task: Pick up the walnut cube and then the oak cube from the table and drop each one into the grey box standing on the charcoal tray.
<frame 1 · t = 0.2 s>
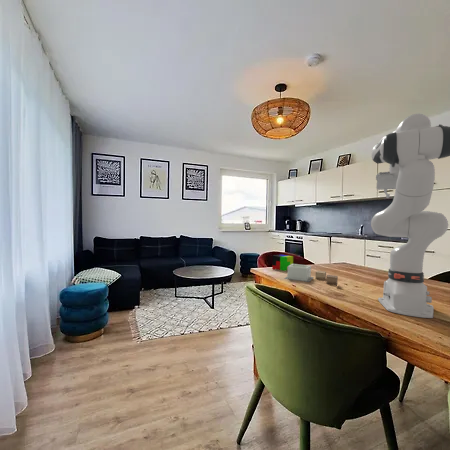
hand: (398, 197, 131), 48 cm above the table, tool pointing down, fingers open, 8 cm apart
tray: (299, 279, 146), on the table
grey box: (299, 277, 146), resting on tray
puzzle toy: (282, 270, 175), on the table
oak cube: (320, 280, 146), on the table
walnut cube: (331, 285, 135), on the table
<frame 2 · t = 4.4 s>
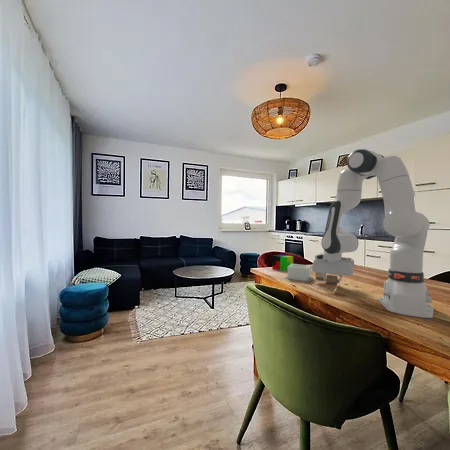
hand: (331, 282, 135), 2 cm above the table, tool pointing down, fingers closed on walnut cube, 5 cm apart
walnut cube: (331, 285, 135), on the table, touching gripper
everything else where it was.
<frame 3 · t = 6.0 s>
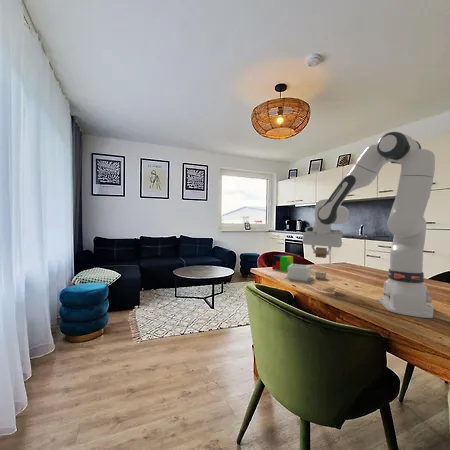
hand: (321, 254, 139), 16 cm above the table, tool pointing down, fingers closed on walnut cube, 5 cm apart
walnut cube: (320, 256, 139), point 15 cm above the table, touching gripper
everything else where it was.
when the fingers open (11 cm above the table, at t = 7.7 s): walnut cube drops 7 cm, resting on grey box.
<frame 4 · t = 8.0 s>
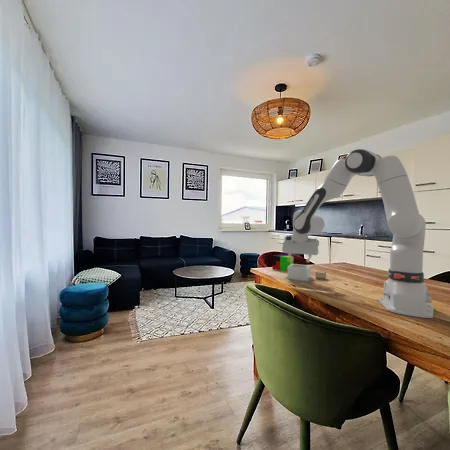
hand: (299, 261, 146), 11 cm above the table, tool pointing down, fingers open, 8 cm apart
walnut cube: (299, 276, 146), point 2 cm above the table, touching grey box
everything else where it was.
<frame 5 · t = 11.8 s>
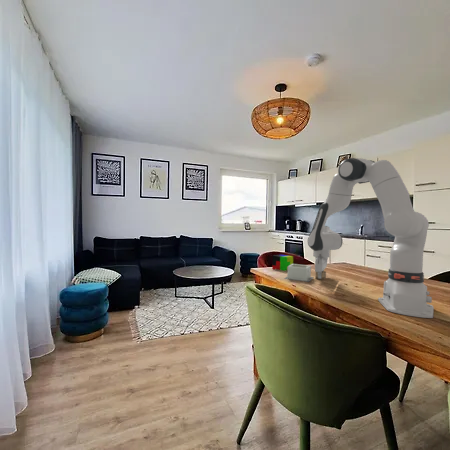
hand: (320, 277, 146), 2 cm above the table, tool pointing down, fingers closed on oak cube, 5 cm apart
oak cube: (320, 280, 146), on the table, touching gripper
everything else where it was.
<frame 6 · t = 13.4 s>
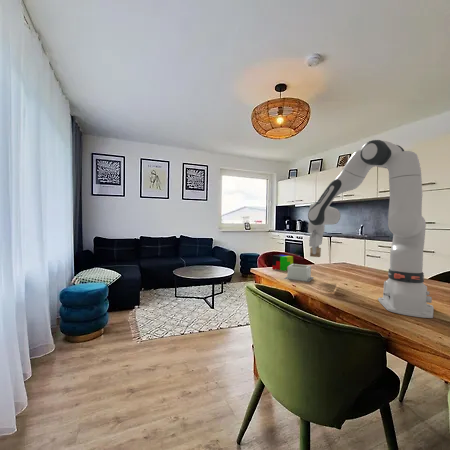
hand: (315, 253, 146), 15 cm above the table, tool pointing down, fingers closed on oak cube, 5 cm apart
oak cube: (315, 256, 146), point 14 cm above the table, touching gripper
everything else where it was.
when the fingers open (11 cm above the table, at t = 14.9 s): oak cube drops 2 cm, resting on walnut cube.
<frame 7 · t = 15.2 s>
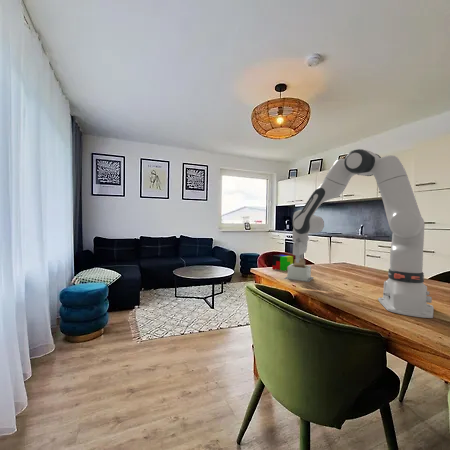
hand: (299, 261, 146), 11 cm above the table, tool pointing down, fingers open, 8 cm apart
oak cube: (299, 268, 146), point 7 cm above the table, touching walnut cube
walnut cube: (299, 276, 146), point 2 cm above the table, touching grey box, oak cube
everything else where it was.
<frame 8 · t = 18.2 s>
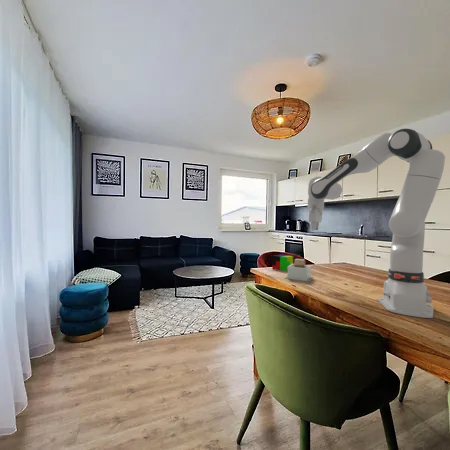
hand: (315, 230, 143), 29 cm above the table, tool pointing down, fingers open, 8 cm apart
nothing on the table moved.
at the end: walnut cube inside the target area on the grey box (0.1 cm from its centre), point 0.8 cm above the grey box's base; oak cube inside the target area on the grey box (0.3 cm from its centre), point 5.8 cm above the grey box's base; the gripper is holding nothing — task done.
